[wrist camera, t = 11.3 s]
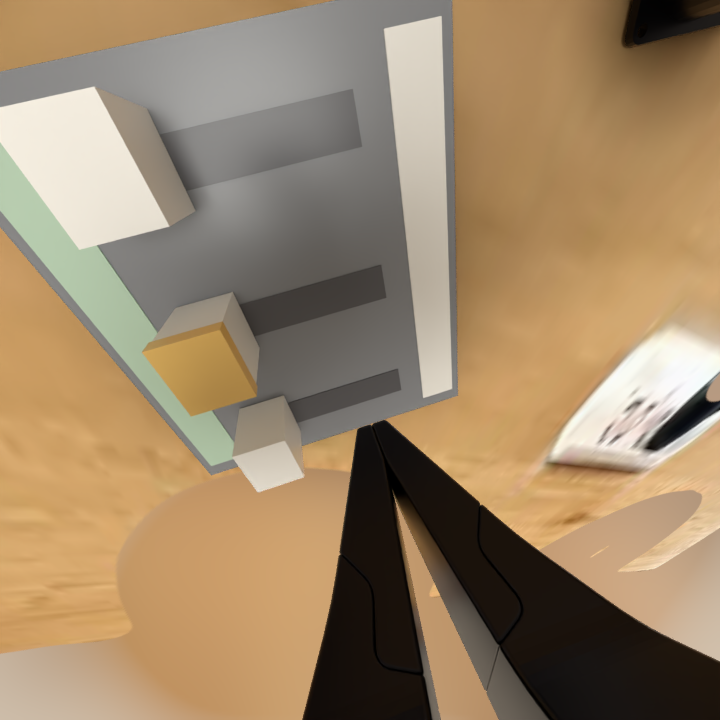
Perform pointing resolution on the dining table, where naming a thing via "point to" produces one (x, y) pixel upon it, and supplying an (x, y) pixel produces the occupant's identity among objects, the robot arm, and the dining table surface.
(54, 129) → the block
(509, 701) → the robot arm
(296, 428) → the block
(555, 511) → the dining table surface
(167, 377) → the block
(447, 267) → the panel
